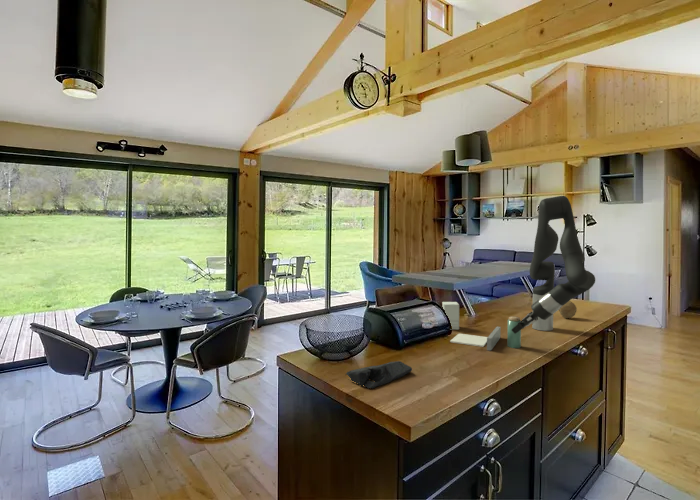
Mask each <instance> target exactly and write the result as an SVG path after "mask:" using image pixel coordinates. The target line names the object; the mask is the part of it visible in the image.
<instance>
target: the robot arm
mask: <svg viewBox="0 0 700 500" xmlns="http://www.w3.org/2000/svg"><path fill="white" fill-rule="evenodd" d="M572 208H573V207H572V205H571V201H570V200H569V198H568V197H567V196H566V195H558V196H552V197H547V198H544V199H541V200H540V202H539V204H538V219H537V229H536V233H535V234H536V235H535V239H534V240H535V241H534V247H533V255H532V259H531V262H530V266H529V277H530V278H531V279H532V280H535V281H545V283H543V284H540V285H539V286H534V287H533V288H532V304H531V306H530V308H531V310H532V311H530V312H528V313H527V314H526V316H524V317H523V318H522V319H521V321H520V322H519V323H518V325H516V326H515V327H514V328H513V329H512V331H513V332H514V333H515V334H516V333H517V332H518V331H520V330H521V331H522V330H523V329H525V328H526V327H530V325H531V324H532V325H531V326H532V327H531V328H532V329H533V330H538V331H545V332H546V331H553V330H554V314H555V313H557V312H559V309H560V308H561V307H562V306H563V305H565V304H566V303H567V302H568V301H571V300H572V299H573V298H576V297H578V296H579V295H582V294H583V293H586V292H588V291H589V290H590V289H591V288H592V287H593V286H594V285H595V283H596V276H595V274H594V273H592V272H591V271H589V270H586V268H585V264H584V263H585V261H586V257H585V254H584V252H583V248H582V246H581V243H580V240H579V237H578V234H577V233H578V232H577V228H576V224H575V223H576V222H575V218H574V214H573V213H574V212H573V210H572ZM560 219H563V221H564V227H563V228H564V229H563V231H562V234H561V237H560V240H559V234H558V233H557V231H555V229H554V228H553V227H551V225H550V224H549V222H550V221H554V220H560ZM558 243H559V249H560V253H561V257H562V258H563V261H564V269H565V275H566V276H565V277H566V279H567V280H568V281H567V282H564V283H559V284H557V285H556V286H555V274H556V273H555V271H556V267H555V266H556V265H555V263H554V262H553V261H545V260H546V259H548V258H550V257H551V256H552V255H553V254H555V252H556V250H557V248H558Z"/></svg>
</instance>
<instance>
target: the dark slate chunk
mask: <svg viewBox="0 0 700 500" xmlns="http://www.w3.org/2000/svg"><path fill="white" fill-rule="evenodd" d="M412 371H413V368H412V367H411V366H410V365H408V364H406V363H404V362H402V361H400V360H398V361H390V362H387V363H386V362H385V363H383V364H379V365H371V366H367V367H361V368H356V369H352V370H349V371H347V372H346V373H345V375H346V374H347V375H348V376H349V377H350V378H351V380H352V381H354V382H356V383H358V384H359V385H362V386H361V387H363V385H364V386H365V387H367V389H369V388H372V389H375V388H376V387H381V386H384V385H387V384H389V383H391V382H393V381H395V380H398V379H400V378H402V377H404V376H406V375H407V374H409V373H411V372H412ZM369 379H371V380H369ZM351 380H350V381H351ZM374 381H375V382H374ZM359 385H358V386H359ZM365 387H364V388H365ZM372 389H371V390H372Z"/></svg>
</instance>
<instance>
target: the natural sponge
mask: <svg viewBox="0 0 700 500" xmlns="http://www.w3.org/2000/svg"><path fill="white" fill-rule="evenodd" d="M577 310H578V309H577V305H576V304H575V303H574V302H573V301H571V300H570V301H568V302H567V303H566V304H565V305H563V306H562V307H561V308H560V309H559V310H558V312H559V314H560V315H561V317H563V319H566V318H569V319H571V318H572V317H575V315H576V313H577V312H578V311H577Z"/></svg>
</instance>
